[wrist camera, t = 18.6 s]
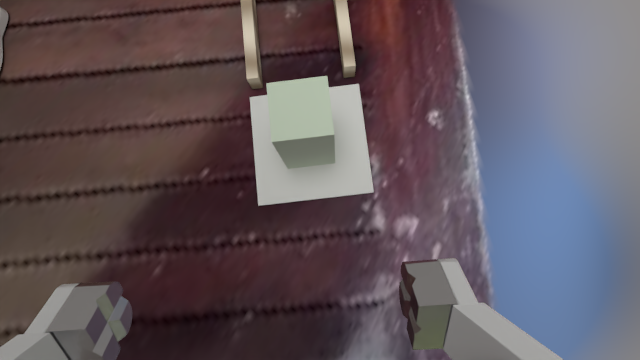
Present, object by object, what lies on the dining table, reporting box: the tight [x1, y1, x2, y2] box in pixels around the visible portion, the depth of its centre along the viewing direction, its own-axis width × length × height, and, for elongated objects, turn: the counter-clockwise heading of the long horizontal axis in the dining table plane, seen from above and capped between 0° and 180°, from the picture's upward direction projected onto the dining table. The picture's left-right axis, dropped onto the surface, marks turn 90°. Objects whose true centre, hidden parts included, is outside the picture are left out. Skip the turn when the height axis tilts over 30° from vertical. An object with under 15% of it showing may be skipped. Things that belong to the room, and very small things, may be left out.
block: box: [266, 76, 335, 169], centre depth 35 cm, size 5×5×10 cm
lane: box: [241, 0, 356, 89], centre depth 42 cm, size 16×11×2 cm
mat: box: [250, 84, 374, 206], centre depth 40 cm, size 12×12×1 cm
